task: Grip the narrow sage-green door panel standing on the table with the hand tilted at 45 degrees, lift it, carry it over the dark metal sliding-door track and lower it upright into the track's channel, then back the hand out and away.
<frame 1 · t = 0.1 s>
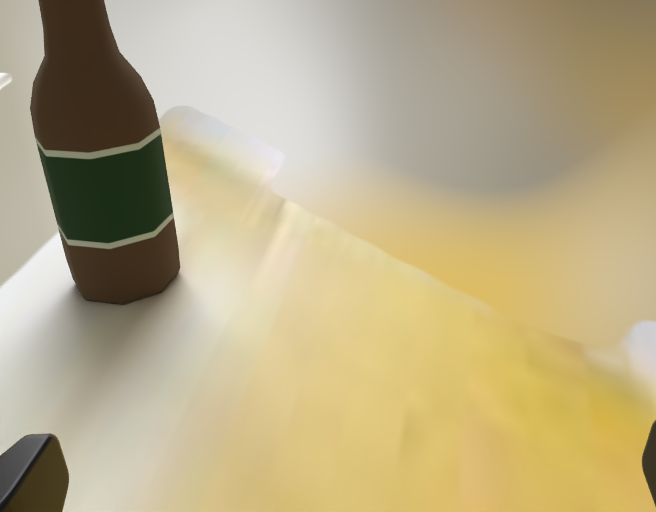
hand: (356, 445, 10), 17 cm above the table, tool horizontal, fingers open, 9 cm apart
beer bottle: (128, 279, 46), on the table
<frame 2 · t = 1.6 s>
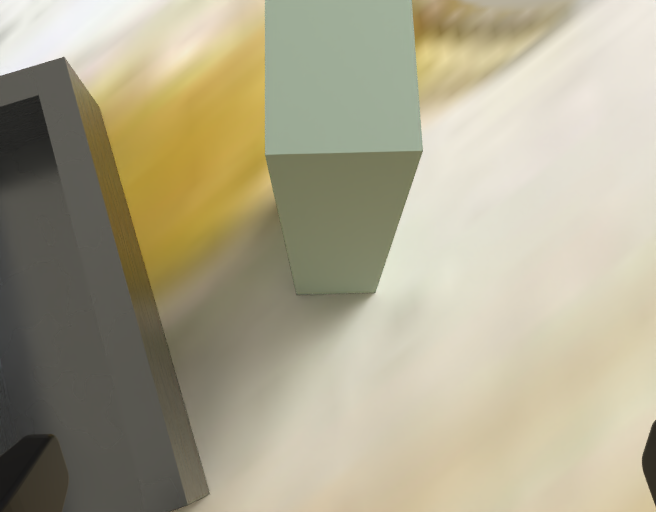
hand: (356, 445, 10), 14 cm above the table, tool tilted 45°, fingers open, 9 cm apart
panel: (334, 238, 25), on the table
track: (62, 313, 24), on the table
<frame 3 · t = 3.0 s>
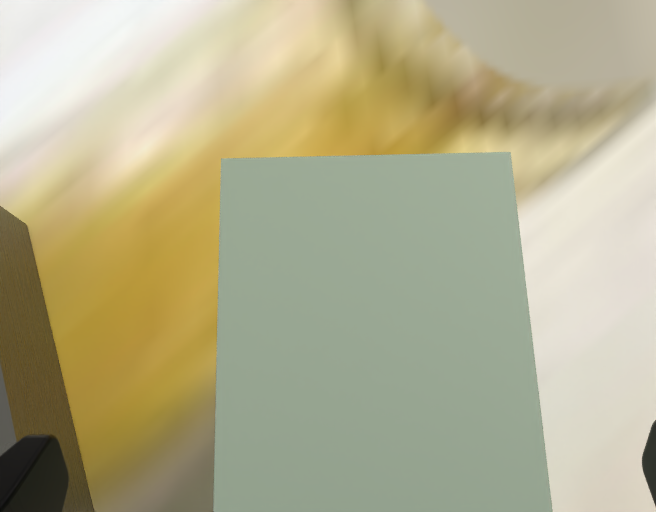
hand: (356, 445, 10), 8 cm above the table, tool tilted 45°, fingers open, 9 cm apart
panel: (342, 415, 18), on the table
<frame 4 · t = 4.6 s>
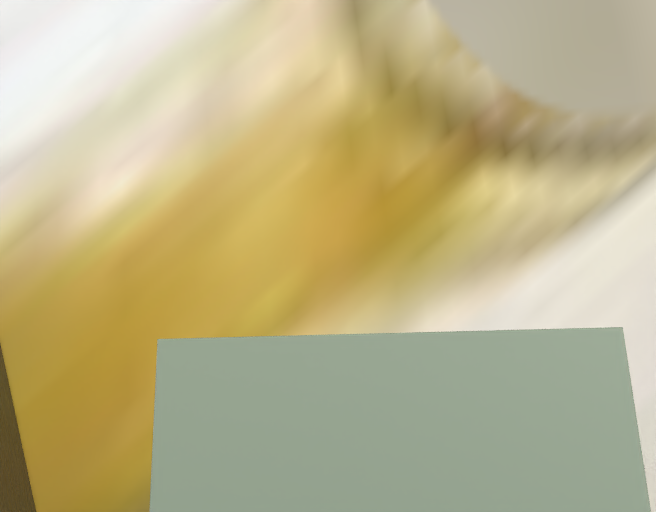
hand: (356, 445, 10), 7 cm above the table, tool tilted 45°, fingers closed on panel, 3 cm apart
panel: (346, 499, 16), on the table, touching gripper
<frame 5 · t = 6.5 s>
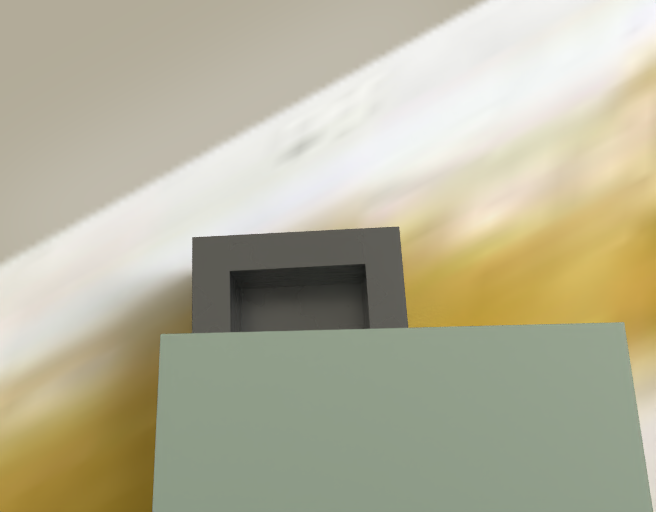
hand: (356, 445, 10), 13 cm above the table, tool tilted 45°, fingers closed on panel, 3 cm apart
panel: (347, 497, 16), point 7 cm above the table, touching gripper
track: (310, 480, 22), on the table
when the fingers open (8 cm above the table, at t = 8.5 s): panel stays where it is, resting on track.
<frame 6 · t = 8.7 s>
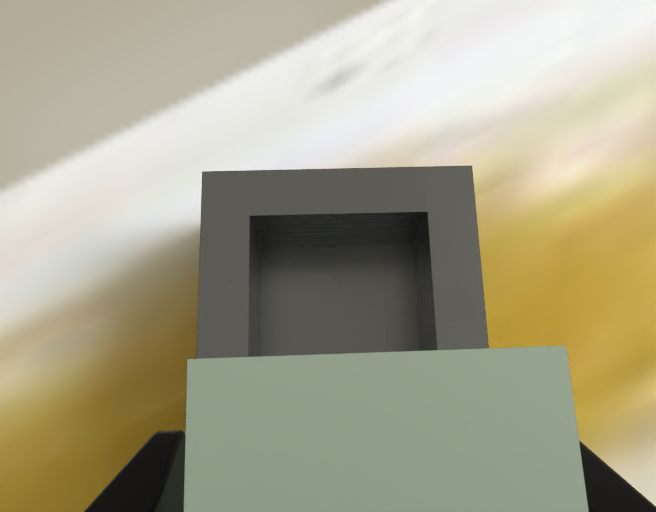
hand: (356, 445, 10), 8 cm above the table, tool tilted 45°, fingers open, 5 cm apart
panel: (345, 495, 16), point 1 cm above the table, touching track
track: (343, 492, 17), on the table
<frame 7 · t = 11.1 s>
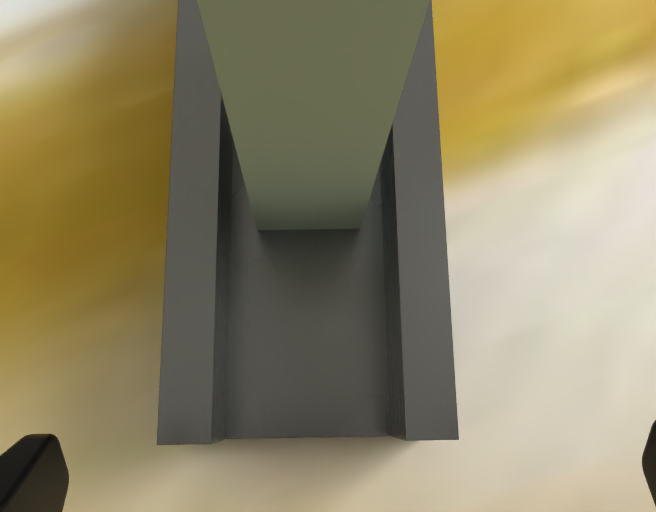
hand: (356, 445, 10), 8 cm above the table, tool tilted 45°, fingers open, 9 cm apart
panel: (307, 158, 19), point 1 cm above the table, touching track
track: (306, 169, 20), on the table
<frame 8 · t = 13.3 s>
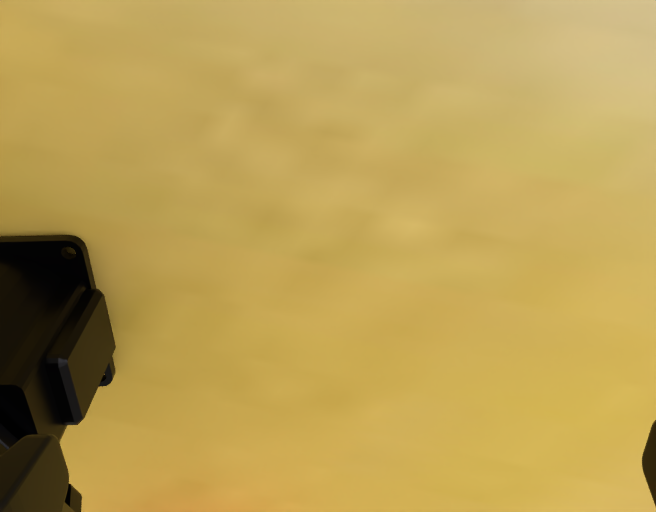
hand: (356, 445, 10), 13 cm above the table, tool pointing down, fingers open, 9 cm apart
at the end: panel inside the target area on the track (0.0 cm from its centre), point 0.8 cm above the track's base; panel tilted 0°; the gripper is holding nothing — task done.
